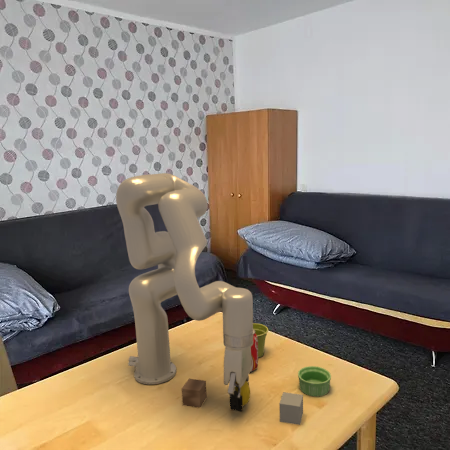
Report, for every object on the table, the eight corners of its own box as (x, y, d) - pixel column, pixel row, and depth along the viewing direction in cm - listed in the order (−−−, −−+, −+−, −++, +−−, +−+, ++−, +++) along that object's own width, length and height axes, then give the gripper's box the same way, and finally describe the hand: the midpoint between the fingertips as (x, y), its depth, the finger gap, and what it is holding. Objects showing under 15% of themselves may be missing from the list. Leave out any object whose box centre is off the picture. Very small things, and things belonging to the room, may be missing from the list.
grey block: (279, 421, 103) (279, 403, 103) (283, 409, 108) (283, 392, 107) (300, 425, 102) (299, 406, 101) (303, 412, 106) (302, 394, 106)
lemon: (237, 397, 113) (237, 370, 112) (254, 405, 110) (254, 377, 108) (224, 407, 109) (223, 379, 107) (241, 416, 105) (241, 387, 104)
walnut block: (182, 405, 112) (181, 388, 111) (189, 395, 116) (188, 378, 115) (200, 408, 110) (199, 390, 109) (206, 397, 115) (206, 380, 114)
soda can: (256, 375, 125) (255, 337, 123) (233, 373, 126) (232, 335, 124) (259, 363, 132) (258, 327, 129) (237, 361, 133) (236, 325, 131)
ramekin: (314, 402, 111) (314, 387, 110) (291, 387, 118) (290, 372, 117) (338, 390, 115) (338, 375, 115) (314, 376, 123) (314, 362, 122)
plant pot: (265, 363, 131) (264, 337, 130) (236, 359, 134) (235, 334, 133) (271, 349, 140) (270, 324, 139) (244, 346, 143) (243, 322, 142)
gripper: (233, 322, 115) (235, 382, 118) (212, 351, 99) (215, 420, 102) (260, 325, 112) (261, 386, 116) (243, 355, 96) (244, 426, 100)
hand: (239, 401), depth 109 cm, fingers closed on lemon, 5 cm apart
